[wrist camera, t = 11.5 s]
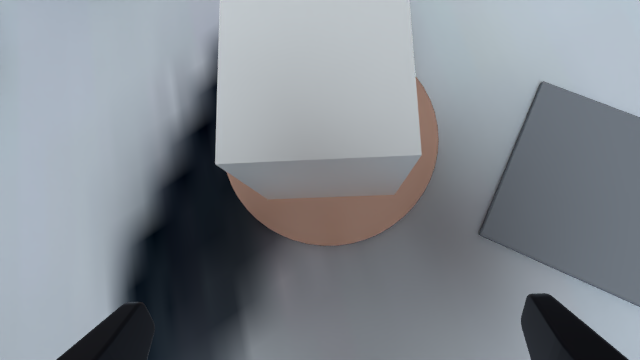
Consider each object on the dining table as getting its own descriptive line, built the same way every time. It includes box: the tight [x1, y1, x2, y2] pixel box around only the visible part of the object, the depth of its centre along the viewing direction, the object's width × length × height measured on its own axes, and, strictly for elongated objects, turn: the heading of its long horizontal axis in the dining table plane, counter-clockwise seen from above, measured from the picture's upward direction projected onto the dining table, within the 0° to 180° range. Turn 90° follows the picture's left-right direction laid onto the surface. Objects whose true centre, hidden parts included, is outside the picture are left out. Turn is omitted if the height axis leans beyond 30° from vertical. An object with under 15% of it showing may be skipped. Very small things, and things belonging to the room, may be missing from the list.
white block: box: [215, 0, 422, 199], centre depth 19 cm, size 7×7×9 cm
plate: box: [227, 77, 438, 246], centre depth 24 cm, size 13×13×1 cm
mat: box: [479, 81, 640, 307], centre depth 22 cm, size 10×10×1 cm
